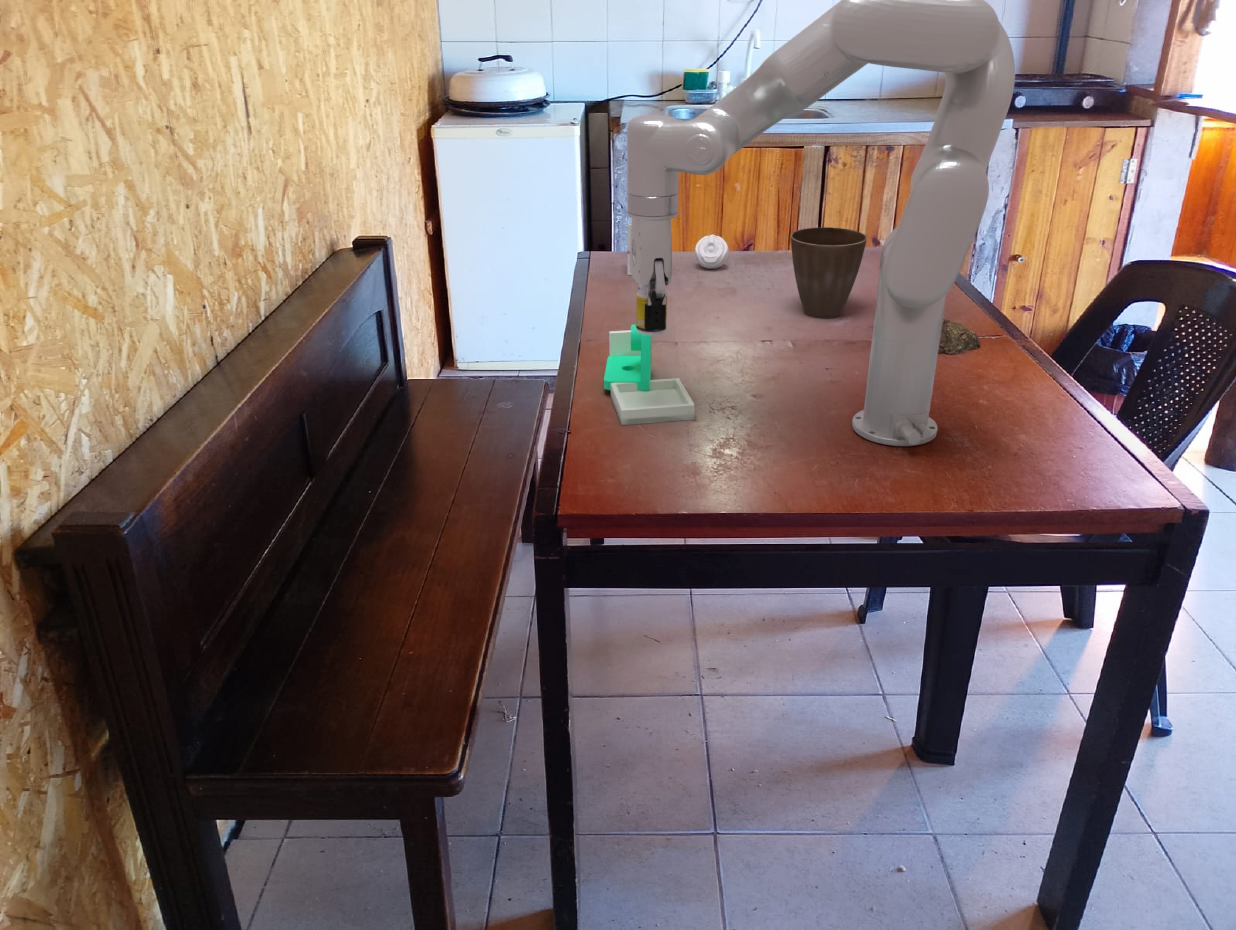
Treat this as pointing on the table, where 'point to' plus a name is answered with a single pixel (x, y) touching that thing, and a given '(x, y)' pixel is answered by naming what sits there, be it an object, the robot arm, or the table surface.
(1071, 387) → the table surface
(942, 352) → the rock
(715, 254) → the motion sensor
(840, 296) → the plant pot
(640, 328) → the supplement bottle
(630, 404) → the tray
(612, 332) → the rear label tag
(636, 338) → the camera mount
